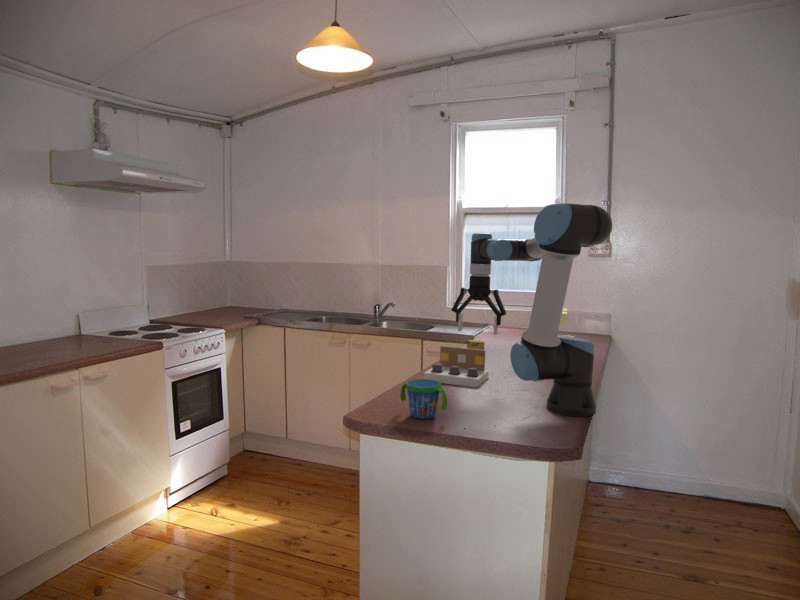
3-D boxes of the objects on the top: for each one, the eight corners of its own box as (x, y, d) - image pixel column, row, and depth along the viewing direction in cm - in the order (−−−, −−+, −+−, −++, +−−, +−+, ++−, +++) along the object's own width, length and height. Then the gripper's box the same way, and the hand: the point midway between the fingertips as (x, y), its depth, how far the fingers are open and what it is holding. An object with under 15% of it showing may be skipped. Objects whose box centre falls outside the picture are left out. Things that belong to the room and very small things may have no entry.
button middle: (457, 377, 206) (458, 368, 206) (448, 376, 208) (448, 367, 207) (460, 375, 210) (460, 366, 209) (451, 374, 211) (451, 365, 211)
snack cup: (391, 413, 167) (392, 380, 166) (414, 407, 174) (415, 375, 173) (431, 426, 156) (432, 391, 155) (454, 418, 164) (455, 384, 163)
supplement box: (470, 367, 233) (471, 342, 232) (465, 364, 239) (466, 339, 238) (483, 367, 235) (484, 341, 233) (478, 364, 240) (479, 339, 239)
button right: (476, 379, 204) (476, 370, 203) (466, 378, 205) (466, 369, 205) (478, 377, 207) (478, 368, 207) (469, 376, 208) (469, 367, 208)
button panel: (478, 387, 200) (479, 357, 199) (423, 380, 208) (424, 351, 207) (488, 378, 215) (489, 350, 214) (437, 372, 223) (438, 345, 222)
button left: (439, 375, 209) (440, 366, 209) (430, 374, 210) (431, 365, 210) (442, 373, 212) (443, 364, 212) (433, 372, 214) (434, 363, 213)
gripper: (516, 276, 202) (513, 334, 204) (451, 273, 212) (448, 328, 214) (511, 277, 195) (508, 337, 197) (444, 274, 205) (442, 330, 207)
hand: (477, 332), depth 205 cm, fingers open, 13 cm apart
